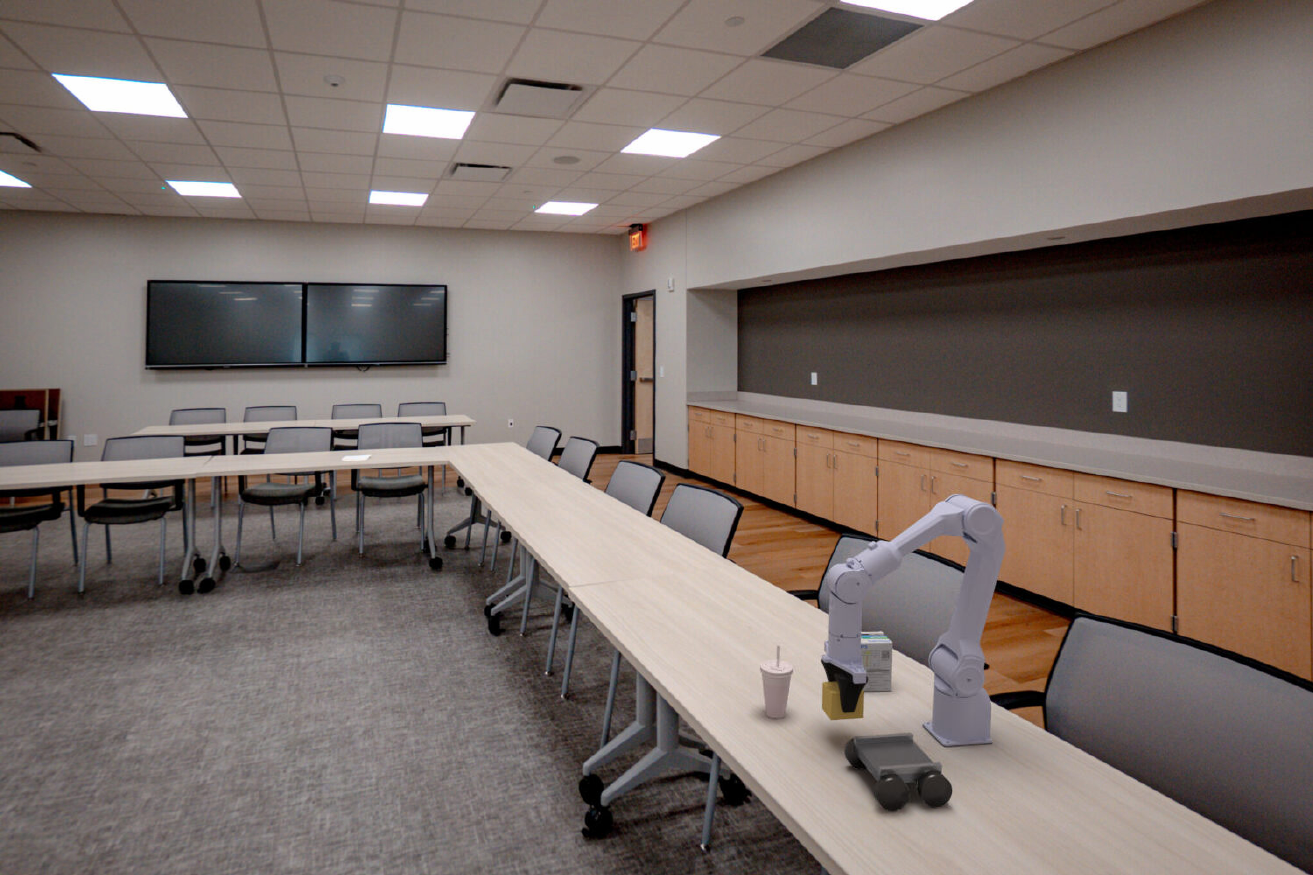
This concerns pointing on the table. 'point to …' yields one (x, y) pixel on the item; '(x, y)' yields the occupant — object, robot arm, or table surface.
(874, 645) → the light bulb box
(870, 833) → the table surface
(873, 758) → the trolley
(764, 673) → the smoothie
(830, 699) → the yellow block
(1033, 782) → the table surface
